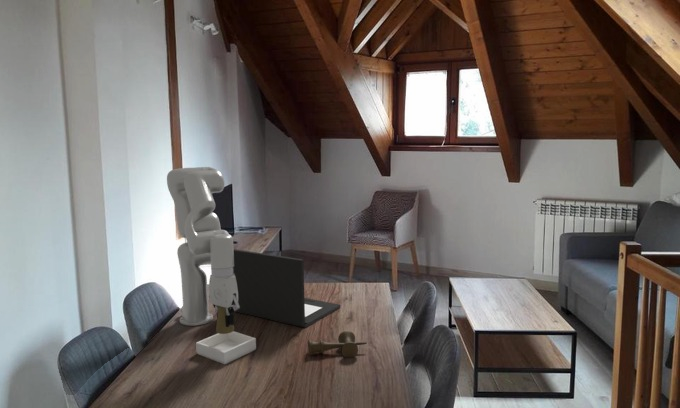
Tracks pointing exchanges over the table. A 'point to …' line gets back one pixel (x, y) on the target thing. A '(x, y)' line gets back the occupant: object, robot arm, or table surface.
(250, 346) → the box
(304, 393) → the table surface
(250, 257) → the laptop
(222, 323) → the cork
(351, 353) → the kendama
